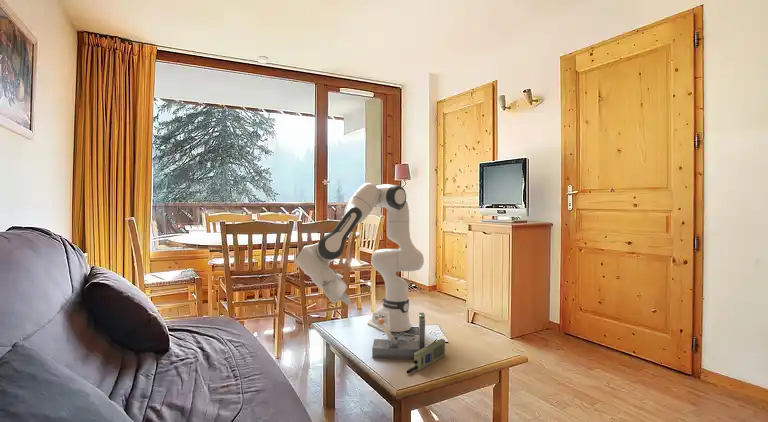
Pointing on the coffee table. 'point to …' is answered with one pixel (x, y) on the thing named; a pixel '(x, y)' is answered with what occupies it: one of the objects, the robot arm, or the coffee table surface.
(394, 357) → the breaker box
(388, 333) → the lever
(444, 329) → the coffee table surface
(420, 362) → the handheld radio
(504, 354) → the coffee table surface
